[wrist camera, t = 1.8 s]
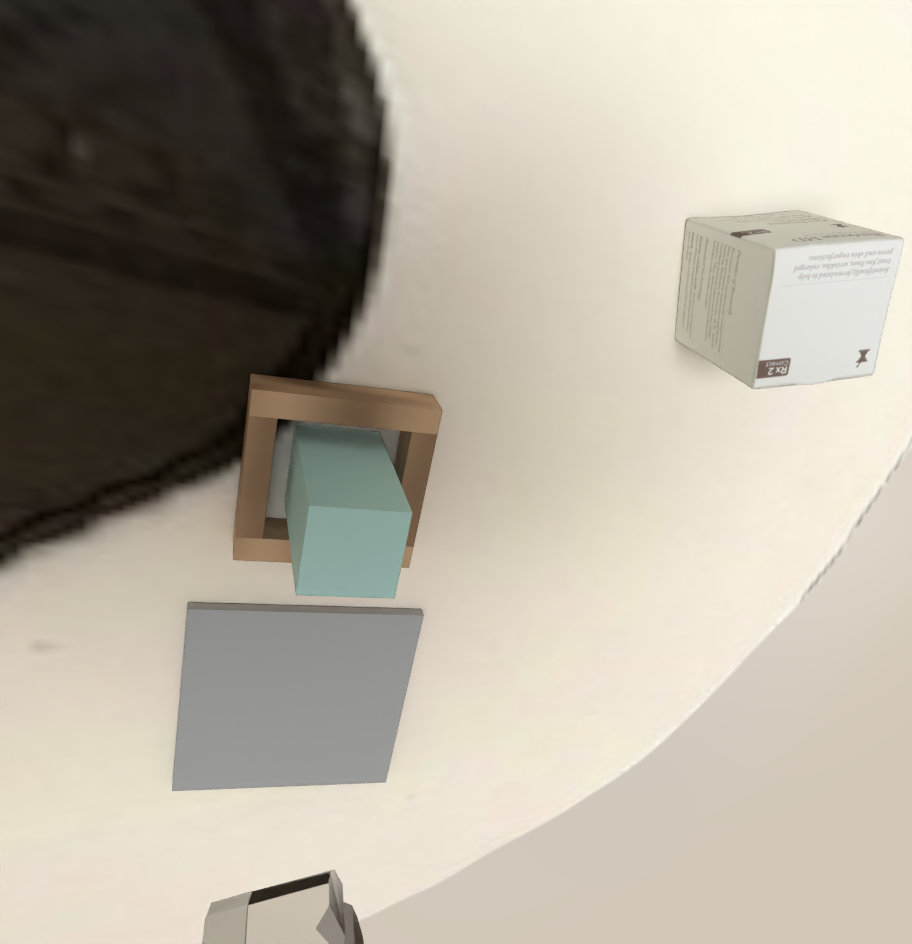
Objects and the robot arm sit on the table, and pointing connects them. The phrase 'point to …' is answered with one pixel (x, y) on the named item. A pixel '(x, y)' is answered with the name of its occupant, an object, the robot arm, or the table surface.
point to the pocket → (330, 406)
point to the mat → (291, 694)
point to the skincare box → (785, 296)
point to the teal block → (344, 514)
